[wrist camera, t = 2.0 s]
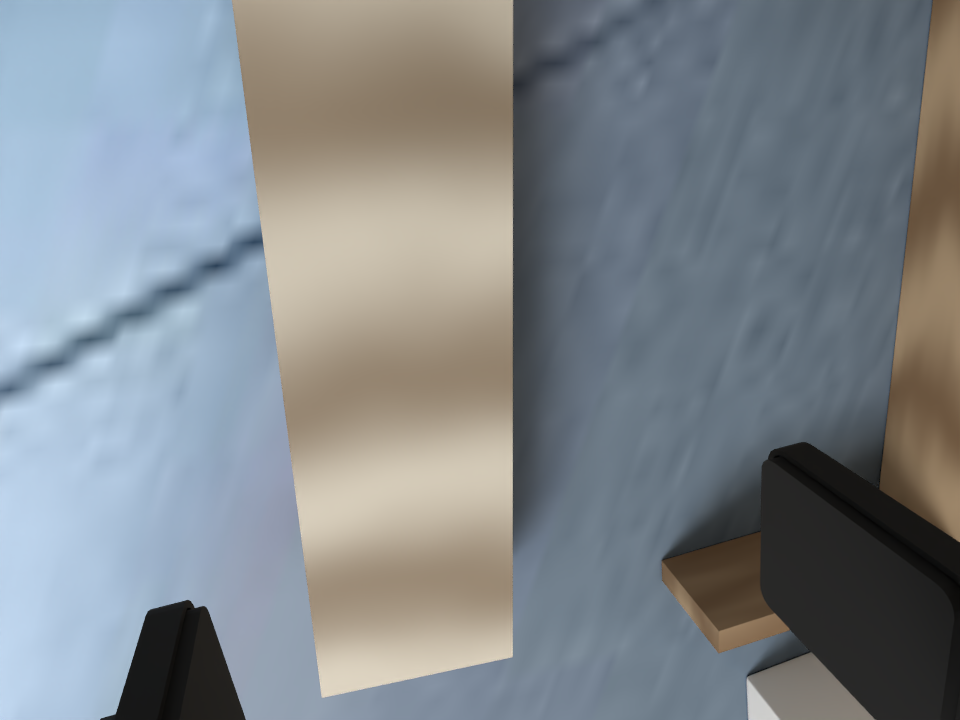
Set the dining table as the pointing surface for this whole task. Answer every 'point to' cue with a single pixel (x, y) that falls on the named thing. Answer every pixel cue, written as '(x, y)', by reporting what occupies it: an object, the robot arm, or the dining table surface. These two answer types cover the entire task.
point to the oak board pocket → (915, 374)
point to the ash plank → (392, 318)
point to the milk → (801, 693)
